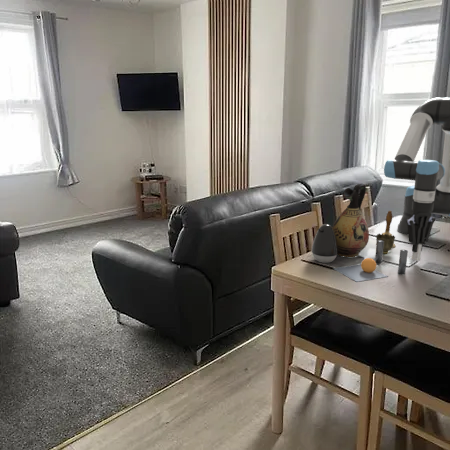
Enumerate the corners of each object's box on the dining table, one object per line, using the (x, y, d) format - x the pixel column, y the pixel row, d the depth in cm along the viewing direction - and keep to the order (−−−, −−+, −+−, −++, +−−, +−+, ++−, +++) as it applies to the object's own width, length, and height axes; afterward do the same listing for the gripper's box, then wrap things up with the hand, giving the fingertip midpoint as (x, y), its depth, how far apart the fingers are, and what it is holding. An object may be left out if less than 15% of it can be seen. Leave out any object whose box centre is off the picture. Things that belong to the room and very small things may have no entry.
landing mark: (362, 264, 176) (362, 263, 176) (387, 276, 163) (387, 276, 163) (333, 268, 171) (333, 268, 171) (356, 282, 158) (356, 281, 158)
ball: (358, 257, 167) (357, 271, 169) (368, 261, 163) (367, 276, 164) (369, 255, 170) (368, 268, 171) (380, 259, 165) (379, 273, 166)
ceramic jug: (352, 263, 177) (359, 188, 169) (321, 253, 189) (326, 183, 181) (376, 254, 188) (384, 184, 180) (345, 245, 199) (351, 179, 191)
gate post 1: (378, 261, 179) (380, 239, 177) (383, 263, 177) (385, 241, 175) (373, 262, 179) (375, 240, 176) (377, 264, 176) (380, 242, 174)
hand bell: (392, 243, 204) (396, 209, 200) (397, 248, 196) (401, 213, 192) (374, 242, 205) (377, 208, 200) (378, 248, 197) (381, 212, 192)
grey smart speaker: (305, 260, 179) (307, 224, 175) (320, 255, 186) (322, 219, 183) (327, 267, 172) (330, 229, 168) (341, 261, 179) (345, 224, 176)
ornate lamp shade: (376, 249, 194) (378, 232, 192) (394, 252, 190) (396, 234, 188) (372, 254, 188) (374, 236, 185) (391, 257, 184) (393, 239, 182)
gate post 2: (401, 272, 168) (404, 249, 166) (406, 274, 166) (409, 251, 164) (396, 272, 167) (398, 250, 165) (401, 275, 165) (403, 252, 163)
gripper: (417, 204, 165) (410, 264, 171) (444, 201, 169) (435, 260, 176) (402, 200, 171) (396, 258, 177) (428, 197, 176) (421, 254, 182)
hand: (415, 259), depth 177 cm, fingers closed
